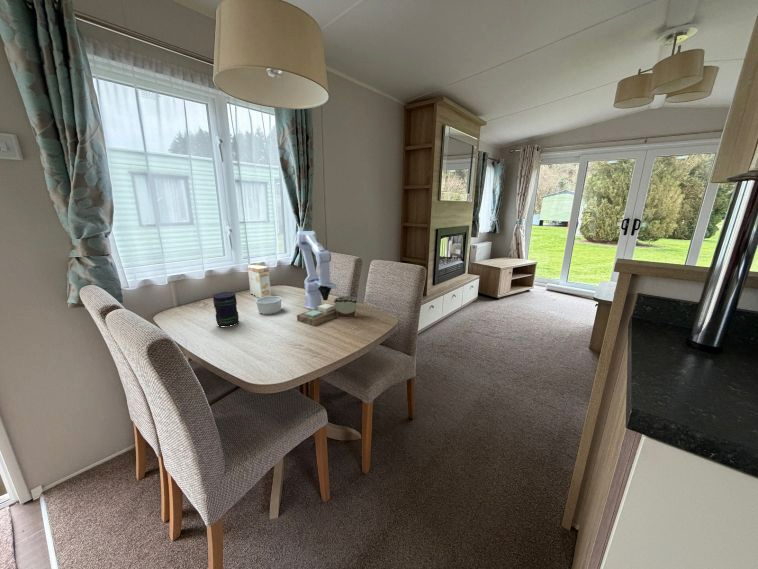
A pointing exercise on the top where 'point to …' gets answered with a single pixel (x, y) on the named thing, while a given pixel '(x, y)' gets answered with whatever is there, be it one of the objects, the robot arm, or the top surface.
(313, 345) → the top surface
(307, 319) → the key console
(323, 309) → the cream key
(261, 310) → the ramekin
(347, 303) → the food container
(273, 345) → the top surface
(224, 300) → the storage jar
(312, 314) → the sage key
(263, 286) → the coffeecake box
